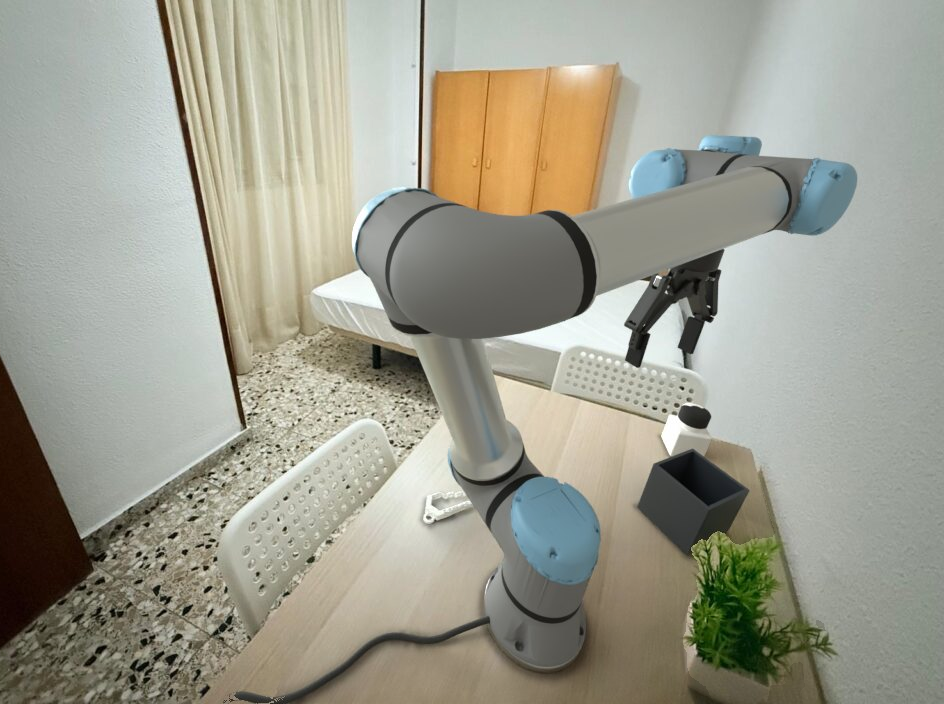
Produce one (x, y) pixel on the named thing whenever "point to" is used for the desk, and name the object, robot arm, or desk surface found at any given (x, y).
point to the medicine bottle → (687, 430)
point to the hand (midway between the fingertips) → (659, 357)
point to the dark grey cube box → (691, 499)
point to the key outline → (443, 513)
